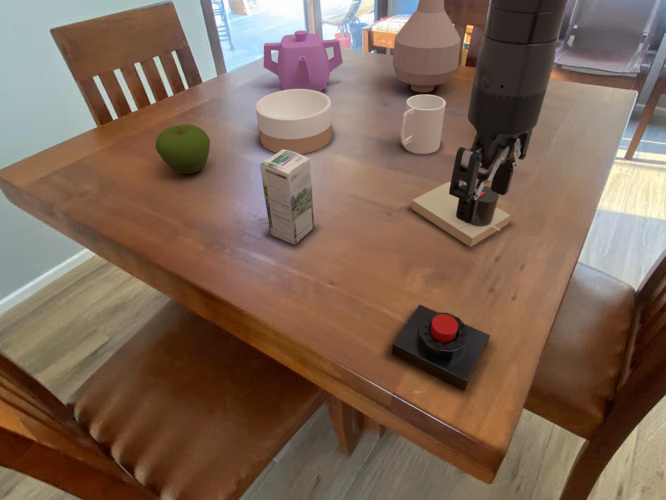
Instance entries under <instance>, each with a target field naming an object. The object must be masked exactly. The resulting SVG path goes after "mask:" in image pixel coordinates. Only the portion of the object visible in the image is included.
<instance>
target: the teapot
mask: <svg viewBox="0 0 666 500" xmlns="http://www.w3.org/2000/svg"><path fill="white" fill-rule="evenodd" d="M328 48H332V49H333V50H332V51H333V57H331V58H330V59H329V57H328V52H327V49H328ZM341 50H342V49H341V44H340V40H339V38H335V39H334V38H333V39H323V38H322V36H321V35H320V34H319V33H317V32H315V33H311V32H310V33H308V31H307V30H301V29H300V30H295V31H294V33H293V34H285V35H283V36H282V38H281V40H280V42H265V43H264V44H263V68H264V69H266V70H267V71H269V72H271V73H273V74H275V75H276V76H277V78H278V81H279V84H280V86H281V88H282V90H289V89H308V90H314V91H318V92H321V93H323V92H324V89H326V87H328V86H327V85H328V83H329V81H330V75H331V72H333V71H334V70H336V69H337V68H338V67H339V66H341V65H342V64H343V63H344V61H343V57H342V55H343V54H342V51H341ZM272 51H274V52H275V51H277V52H278V53H277V61H274V60H273V59H272Z"/></svg>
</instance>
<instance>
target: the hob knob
mask: <svg viewBox="0 0 666 500" xmlns="http://www.w3.org/2000/svg"><path fill="white" fill-rule="evenodd" d="M475 187H476V185H475ZM474 189H475V188H474ZM499 198H500V194H498V193H495V192H493V191H492V190H491V186H488V185H484V187H483V189H482V191H481V193H480V195H479V200H478V205H477V209H476V214H475V219H474V220H473V221H472V222H471V223H470V224H472V225H476V226H486V225H489V224H490V223H491V222H492V220H493V217H494V213H495V209H496V207H497V206H498V202H499Z"/></svg>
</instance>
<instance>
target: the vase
mask: <svg viewBox="0 0 666 500" xmlns="http://www.w3.org/2000/svg"><path fill="white" fill-rule="evenodd" d="M460 36H461V35H460V34H459V33H458V31H457V29H456V28H455V25H454V23H453V22H452V21H451V19H450V16H449V15H448V14H447V12H446V10H445V0H418V3H417V7H416V10H415V11H414V12H413V14H412V15H411V16H410V17H409V18H408V20H407V21H406V22H405V24H404V25H403V26H402V27H401V28H400V30H399V31H397V33H396V35H395V36H394V44H393V54H392V67H393V70H394V73H395V76H396V77H397V79H399V80H400V81H401V82H404V83H406V84H408V85H410V89H411V90H412V91H413V92H416V93H430V92H432V91H433V90H434V89H435V87H436V86H439V85H441V84H443V83H446V82H448V81H449V80H450V79H451V78H452V76H453V75H454V73H455V71H456V70H457V68H458V66H459V61H460V52H461V44H462V39H461V37H460Z"/></svg>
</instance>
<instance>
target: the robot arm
mask: <svg viewBox="0 0 666 500" xmlns="http://www.w3.org/2000/svg"><path fill="white" fill-rule="evenodd" d="M568 3H569V0H489V2H488V8H487V14H486V21H485V27H484V33H483V35H482V41H481V44H480V47H479V50H478V54H477V58H476V63H475V69H474V76H473V82H472V88H471V94H470V98H469V99H470V100H469V105H468V111H467V120H468V121H469V123H470V125H472V127H473V128H474V129H475V131H476V134H475V136H474V139H473V141H472V144H471V146H470V147H469V148H466V147H463V146H460V147H459V148H458V149H457V151H456V154H455V158H454V164H453V169H452V175H451V179H450V182H451V184H450V190H449V194H450V195H452V196H455V197H457V198H459V201H458V207H457V212H456V217H457V218H458V219H460V220H462V221H464V222H466V223H471V222H472V221H473V220H474V219H475V214H476V209H477V205H478V200H479V195H480V193H481V191H482V189H483V187H484V186H486V184H489V183H491V184H490V187H491V190H492V191H493V192H495V193H498V194H499V196H506V194H507V193H508V192H509V190H510V186H511V182H512V179H513V174H514V172H515V171H514V170H516V169H517V168H518V167H519V163H520V160H521V161H523V160H524V159H525V158H526V157H527V152H528V148H529V144H530V141H531V138H532V137H531V136H532V133H533V129H534V128H535V127H536V126H537V124H538V122H539V117H540V114H541V111H542V107H543V104H544V101H545V96H546V92H547V90H548V85H549V82H550V80H551V79H550V78H551V75H552V71H553V67H554V63H555V59H556V54H557V53H556V52H557V45H558V39H559V35H560V34H561V33H560V32H561V30H562V25H563V22H564V18H565V14H566V11H567V6H568ZM480 169H482V170H485V171H486V172H481V171H479V170H480ZM477 180H478V181H477ZM475 186H476V187H475ZM474 188H475V189H474Z"/></svg>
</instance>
